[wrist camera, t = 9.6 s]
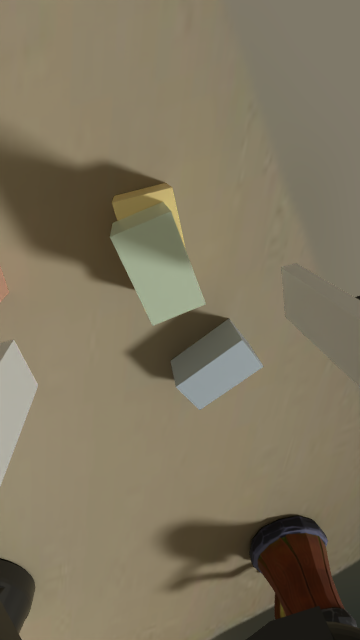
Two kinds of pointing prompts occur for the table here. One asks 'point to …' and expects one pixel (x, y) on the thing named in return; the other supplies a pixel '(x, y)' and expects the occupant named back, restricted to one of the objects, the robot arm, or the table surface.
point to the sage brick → (157, 263)
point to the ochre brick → (146, 202)
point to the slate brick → (214, 365)
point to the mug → (298, 568)
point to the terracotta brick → (2, 286)
